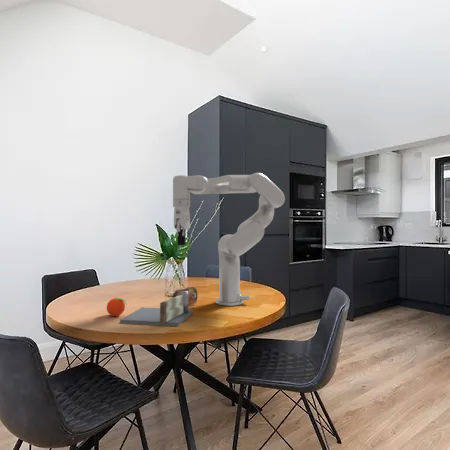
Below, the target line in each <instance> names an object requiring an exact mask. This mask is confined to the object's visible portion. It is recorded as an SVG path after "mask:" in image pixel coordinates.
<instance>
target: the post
mask: <svg viewBox="0 0 450 450" xmlns="http://www.w3.org/2000/svg"><path fill="white" fill-rule="evenodd" d="M181 295H184V313H183V314H186V313H188V310H189V307H188V291H181Z"/></svg>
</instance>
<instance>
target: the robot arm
mask: <svg viewBox="0 0 450 450" xmlns="http://www.w3.org/2000/svg"><path fill="white" fill-rule="evenodd" d="M254 193H258V195H259V198H258V209H257V211H256V212H255V213H254V214H252V215H251V216H250V217H249V218H247V219H246V220H244V221H243V222H241V223H240V224H239V226H238V227H237V231H236V232H235V233H234V234H233V233H232V234H225V235H223V236H221V238H220V239H219V241H218V245H217V249H218V261H219V263H218V264H219V265H218V266H219V268H218V269H219V273H218V274H219V275H218V280H219V281H218V284H219V285H218V286H219V287H218V289H219V291H218V293H219V294H218V295H219V297H218V298H217V299H216V300H215V304H216V305H219V306H225V307H227V306H229V307H230V306H233V307H234V306H239V305H242V304H244V300H245V301H250V295H246V294H244V295H243V294H242V292H241V285H240V284H241V280H240V279H241V275H240V273H241V270H240V269H241V259H240V257H241V256H242V255H243V254H245V253H246V252H248V251H249V250H250V249H251V248H253V247H254V246H255V245H257V244H258V243H259V242H260V241H261V240H262V238H263V237H264V235H265V229H266V228H267V227H268V226H269V225H270V224H271V222H272V221H273V219H274V216H275V209H278V208H280V207H282V206H283V205H284V203H285V201H286V197H285V194H284V192H283V191H282V190H281V189H280V188H279V187H278V186H277V185H276V183H274V182H273V181H272V180H270V178H269V177H268V176H267V175H265V174H263V173H262V172H255V173H252V174H226V175H221V176H218V177H212V178H211V177H210V178H207V177H206V176H204V175H200V174H199V175H181V174H180V175H178V174H177V175H175V176H173V178H172V207H173V208H174V210H173V228H174V229H175V230H176V233H177V246H186V241H187V240H186V238H187V237H186V234H187V230H190V229H191V219H190V218H191V215H190V208H191V194H192V195H193V194H194V195H214V194H215V195H216V194H217V195H218V194H220V195H226V194H227V195H228V194H254Z"/></svg>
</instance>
